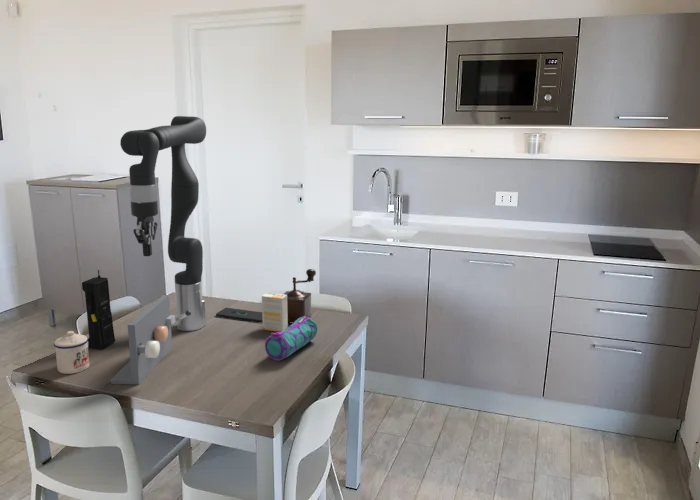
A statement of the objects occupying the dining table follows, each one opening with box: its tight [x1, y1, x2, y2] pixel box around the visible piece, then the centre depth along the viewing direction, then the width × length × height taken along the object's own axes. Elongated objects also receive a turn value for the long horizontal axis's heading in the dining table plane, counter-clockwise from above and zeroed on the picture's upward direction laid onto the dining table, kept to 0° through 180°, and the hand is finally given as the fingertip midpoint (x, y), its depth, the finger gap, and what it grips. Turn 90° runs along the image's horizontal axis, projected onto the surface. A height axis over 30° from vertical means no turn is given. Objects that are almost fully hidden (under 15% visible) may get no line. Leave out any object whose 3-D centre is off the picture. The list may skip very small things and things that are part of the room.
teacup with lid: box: [53, 330, 90, 375], centre depth 164 cm, size 12×9×12 cm
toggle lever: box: [175, 310, 191, 322], centre depth 176 cm, size 6×2×2 cm, turn 88°
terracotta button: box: [153, 326, 168, 342], centre depth 165 cm, size 7×5×5 cm
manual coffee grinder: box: [283, 268, 317, 324], centre depth 209 cm, size 16×11×18 cm
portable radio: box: [81, 270, 116, 350], centre depth 177 cm, size 8×6×25 cm
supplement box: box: [261, 292, 289, 333], centre depth 196 cm, size 8×5×13 cm, turn 71°
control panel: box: [110, 294, 176, 385], centre depth 165 cm, size 10×27×18 cm, turn 178°
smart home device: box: [215, 307, 263, 323], centre depth 210 cm, size 8×2×20 cm
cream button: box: [137, 341, 160, 358], centre depth 154 cm, size 7×5×5 cm
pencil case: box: [264, 316, 318, 362], centre depth 178 cm, size 21×9×10 cm, turn 156°
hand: (147, 255), depth 166 cm, fingers closed
